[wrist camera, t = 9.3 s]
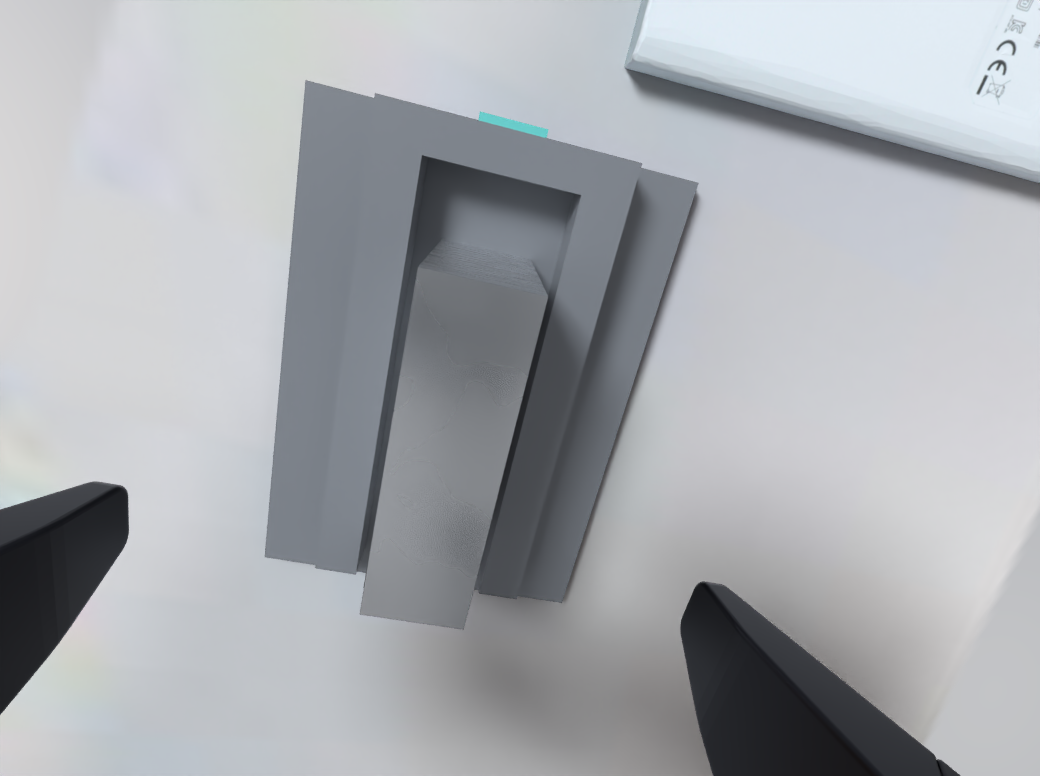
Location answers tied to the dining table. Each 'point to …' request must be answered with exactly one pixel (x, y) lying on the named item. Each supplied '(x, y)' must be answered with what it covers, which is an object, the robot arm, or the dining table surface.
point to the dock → (387, 304)
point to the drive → (451, 430)
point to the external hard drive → (866, 67)
